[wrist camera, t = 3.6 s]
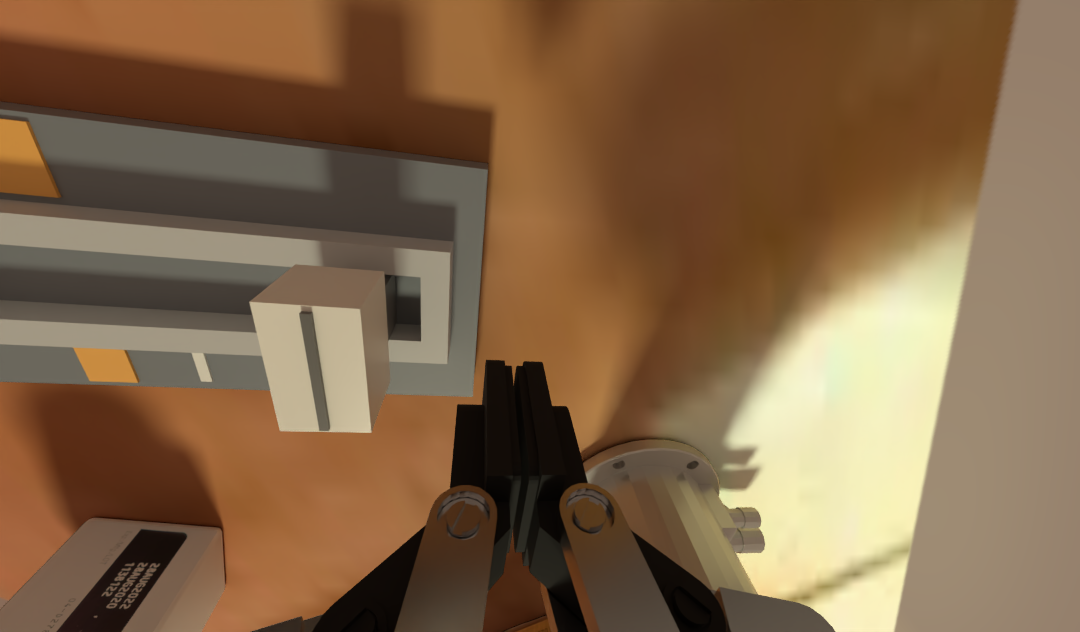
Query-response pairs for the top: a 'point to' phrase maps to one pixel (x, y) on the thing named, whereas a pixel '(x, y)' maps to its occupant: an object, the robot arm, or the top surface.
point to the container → (123, 580)
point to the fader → (326, 346)
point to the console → (219, 249)
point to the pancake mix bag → (533, 626)
